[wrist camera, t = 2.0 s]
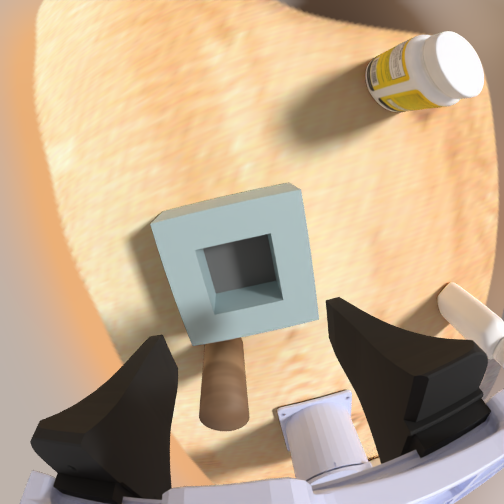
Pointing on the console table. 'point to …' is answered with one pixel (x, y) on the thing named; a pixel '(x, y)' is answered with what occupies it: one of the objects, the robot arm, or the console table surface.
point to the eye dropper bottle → (473, 320)
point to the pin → (224, 386)
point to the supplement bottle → (425, 73)
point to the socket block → (239, 263)
